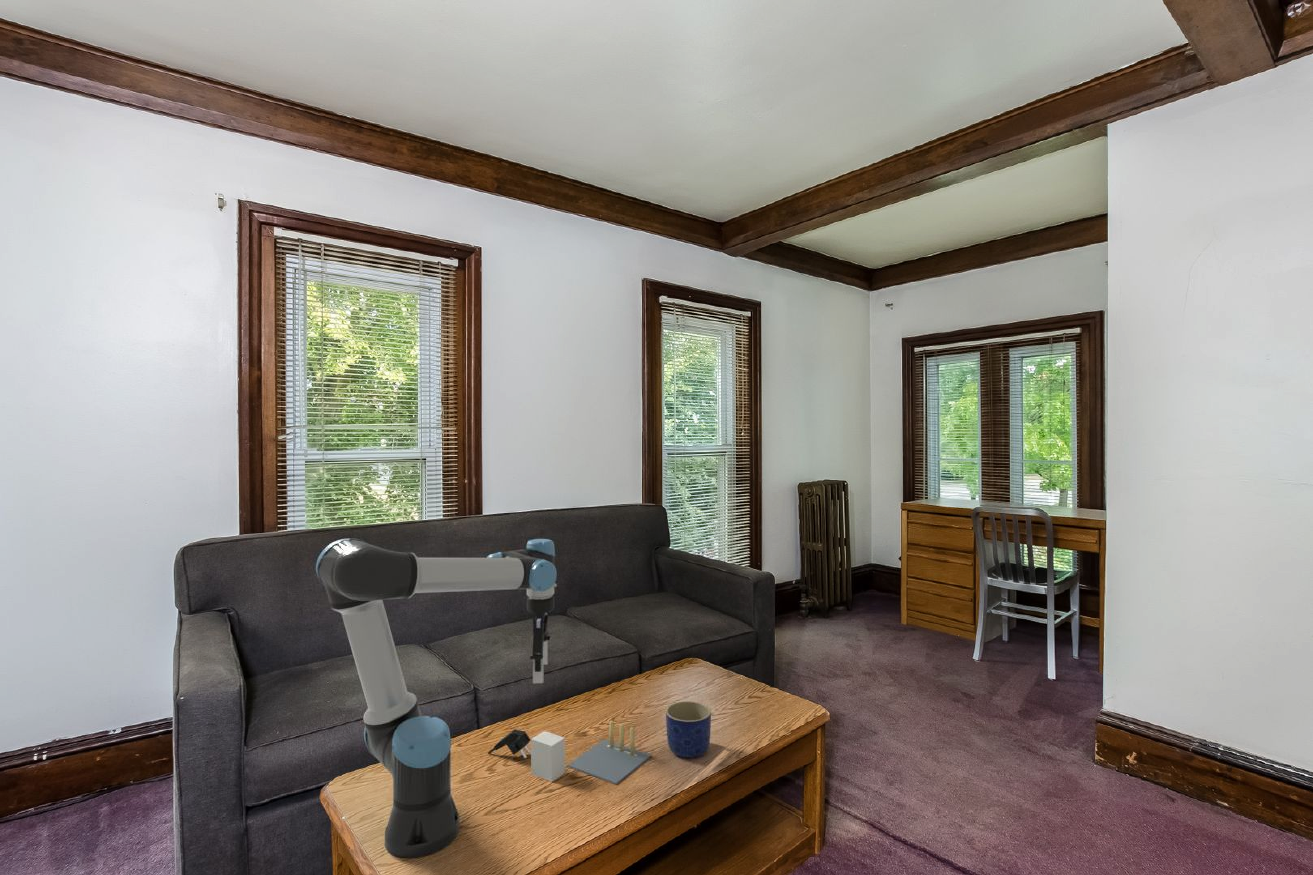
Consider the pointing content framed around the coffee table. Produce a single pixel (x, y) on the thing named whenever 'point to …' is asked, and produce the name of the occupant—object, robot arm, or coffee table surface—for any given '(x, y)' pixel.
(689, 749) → the planter
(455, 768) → the coffee table surface
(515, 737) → the power plug
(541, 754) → the block
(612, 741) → the board
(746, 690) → the coffee table surface
